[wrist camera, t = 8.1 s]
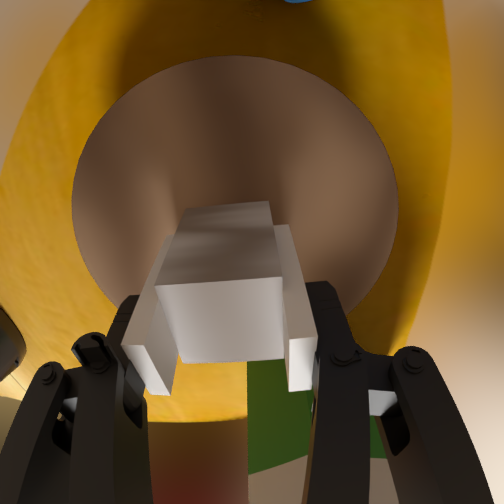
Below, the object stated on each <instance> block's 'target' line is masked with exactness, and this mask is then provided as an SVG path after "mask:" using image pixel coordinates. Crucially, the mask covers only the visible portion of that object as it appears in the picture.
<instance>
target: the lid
mask: <svg viewBox="0 0 504 504" xmlns="http://www.w3.org/2000/svg"><path fill="white" fill-rule="evenodd" d="M398 210H399V207H398V191H397V184H396V180H395V175H394V171H393V167H392V164H391V161H390V159H389V156H388V154H387V151H386V148H385V146H384V144H383V143H382V141H381V139H380V137H379V136H378V134H377V132H376V130H375V129H374V127H373V126H372V124H371V123H370V122H369V121H368V119H367V118H366V117H365V116H364V114H363V113H362V112H361V111H360V110H359V108H358V107H357V106H356V105H354V104H353V103H352V102H351V101H350V100H349V99H348V98H347V97H346V96H345V95H343V94H342V93H341V92H340V91H339V90H337V89H336V88H334V87H333V86H331V85H330V84H328V83H327V82H325V81H324V80H322V79H321V78H319V77H317V76H315V75H313V74H311V73H309V72H307V71H304V70H302V69H300V68H297V67H295V66H293V65H290V64H286V63H282V62H279V61H275V60H271V59H267V58H261V57H251V56H241V55H231V56H214V57H206V58H201V59H197V60H192V61H188V62H184V63H180V64H178V65H175V66H173V67H170V68H167V69H165V70H163V71H160V72H158V73H156V74H154V75H152V76H151V77H149V78H147V79H146V80H144V81H142V82H141V83H139V84H137V85H136V86H134V87H133V88H132V89H131V90H129V91H128V92H127V93H126V94H124V95H123V96H122V97H121V98H120V99H119V100H117V101H116V102H115V103H114V104H113V105H112V107H111V108H110V109H109V110H108V111H107V112H106V113H105V115H104V116H103V117H102V118H101V119H100V121H99V122H98V124H97V125H96V127H95V128H94V130H93V132H92V133H91V135H90V136H89V138H88V140H87V142H86V144H85V147H84V149H83V151H82V154H81V156H80V158H79V162H78V165H77V169H76V173H75V177H74V182H73V191H72V220H73V226H74V231H75V237H76V240H77V243H78V247H79V250H80V253H81V255H82V258H83V260H84V262H85V264H86V266H87V268H88V270H89V272H90V274H91V275H92V277H93V279H94V280H95V282H96V283H97V285H98V286H99V288H100V289H101V290H102V291H103V293H104V294H105V295H106V296H107V298H108V299H109V300H110V301H111V302H112V303H113V304H114V305H115V306H116V307H117V308H118V309H119V307H120V304H121V303H122V302H123V301H124V300H125V299H126V298H127V297H128V296H129V295H140V294H141V292H142V289H143V287H144V285H145V282H146V280H147V278H148V275H149V273H150V271H151V268H152V266H153V264H154V262H155V259H156V257H157V255H158V253H159V251H160V248H161V246H162V244H163V242H164V240H165V237H166V235H172V234H174V237H173V239H172V242H171V244H170V246H169V249H168V251H167V254H166V256H165V259H164V261H163V264H162V266H161V269H160V271H159V274H158V276H157V279H156V282H155V284H154V287H155V290H156V293H157V296H158V299H159V301H160V304H161V307H162V310H163V312H164V315H165V318H166V320H167V323H168V326H169V328H170V331H171V334H172V336H173V339H174V341H175V344H176V346H177V349H178V351H179V354H180V357H181V359H182V362H183V363H223V362H244V361H259V360H272V359H284V348H283V305H282V291H283V280H282V271H281V266H280V260H279V255H278V249H277V243H276V238H275V232H274V227H273V225H286V224H289V228H290V231H291V235H292V238H293V242H294V246H295V249H296V253H297V257H298V260H299V264H300V268H301V271H302V275H303V279H304V283H306V282H317V281H328V282H329V283H330V284H331V285H332V286H333V287H334V288H335V289H336V292H337V294H338V297H339V301H340V302H341V305H342V309H343V311H344V313H345V316H346V315H347V314H348V313H350V312H351V311H352V310H353V309H354V308H355V307H356V306H357V305H358V304H359V303H360V302H361V301H362V300H363V299H364V297H365V296H366V295H367V294H368V293H369V291H370V290H371V288H372V287H373V286H374V284H375V283H376V281H377V280H378V278H379V276H380V275H381V273H382V271H383V269H384V267H385V265H386V263H387V260H388V258H389V255H390V253H391V250H392V247H393V243H394V239H395V235H396V230H397V222H398Z"/></svg>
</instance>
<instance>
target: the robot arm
mask: <svg viewBox="0 0 504 504" xmlns="http://www.w3.org/2000/svg"><path fill="white" fill-rule="evenodd" d="M273 227H274V232H275V238H276V243H277V249H278V255H279V260H280V266H281V271H282V280H283V291H282V305H283V348H284V356H285V364H286V373H287V381H288V390H289V392H294V391H303V390H311V389H312V384H313V390H314V398H313V404H312V410H311V412H312V419H311V430H310V440H309V449H308V458H307V466H306V474H305V481H304V488H303V495H302V502H301V504H369V491H370V415H374V418H375V421H376V424H377V428H378V431H379V434H380V437H381V441H382V444H383V447H384V450H385V454H386V457H387V461H388V464H389V468H390V471H391V475H392V478H393V482H394V486H395V489H396V493H397V497H398V501H399V504H494V502H493V498H492V495H491V492H490V489H489V486H488V483H487V480H486V477H485V474H484V471H483V468H482V466H481V463H480V460H479V458H478V455H477V453H476V450H475V448H474V445H473V443H472V440H471V438H470V435H469V433H468V431H467V428H466V426H465V424H464V422H463V419H462V417H461V415H460V413H459V411H458V408H457V406H456V404H455V402H454V400H453V398H452V396H451V394H450V392H449V390H448V388H447V386H446V384H445V382H444V380H443V378H442V376H441V374H440V372H439V370H438V368H437V366H436V364H435V362H434V360H433V359H432V357H431V356H430V355H429V354H428V352H426V351H425V350H423V349H422V348H419V347H415V346H407V347H403V348H401V349H399V350H398V351H397V352H396V353H395V354H394V356H386V355H376V354H372V353H369V352H366V351H364V350H363V349H362V348H361V347H360V346H359V345H358V344H357V343H355V341H354V339H353V336H352V333H351V330H350V327H349V325H348V322H347V319H346V316H345V313H344V311H343V309H342V305H341V302H340V301H339V297H338V294H337V292H336V289H335V288H334V287H333V286H332V285H331V284H330V283H329V282H328V281H317V282H306V283H304V279H303V275H302V271H301V268H300V264H299V260H298V257H297V253H296V249H295V246H294V242H293V238H292V235H291V231H290V228H289V224H286V225H273ZM173 237H174V234H172V235H166V237H165V240H164V242H163V244H162V246H161V248H160V251H159V253H158V255H157V257H156V259H155V262H154V264H153V266H152V268H151V271H150V273H149V275H148V278H147V280H146V282H145V285H144V287H143V289H142V292H141V294H140V295H129V296H128V297H127V298H126V299H125V300H124V301H123V302H122V303H121V304H120V307H119V309H118V311H117V313H116V314H117V315H115V318H114V320H113V323H112V325H111V327H110V329H109V332H108V334H107V336H106V337H105V335H104V334H101V333H99V332H91V333H88V334H85V335H83V336H82V337H80V338H79V339H78V340H77V341H76V342H75V343H74V344H73V346H72V349H71V350H72V352H73V353H74V355H75V356H76V358H77V359H78V360H79V362H80V363H81V365H82V366H81V367H77V368H72V369H67V370H64V368H63V367H62V366H61V364H60V363H58V362H48V363H45V364H44V365H42V366H41V367H40V368H39V369H38V370H37V372H36V373H35V375H34V377H33V379H32V381H31V383H30V385H29V387H28V389H27V392H26V394H25V396H24V398H23V400H22V402H21V404H20V407H19V409H18V411H17V413H16V416H15V418H14V420H13V423H12V425H11V427H10V430H9V433H8V435H7V437H6V440H5V443H4V446H3V448H2V451H1V454H0V504H153V495H152V486H151V476H150V462H149V447H148V425H147V424H148V422H147V403H146V400H145V398H144V397H143V393H144V389H145V387H146V388H147V390H148V391H149V393H150V394H151V395H170V396H171V390H172V385H173V379H174V374H175V368H176V363H177V358H178V353H179V351H178V349H177V346H176V344H175V341H174V339H173V336H172V334H171V331H170V328H169V326H168V323H167V320H166V318H165V315H164V312H163V310H162V307H161V304H160V301H159V299H158V296H157V293H156V290H155V287H154V284H155V282H156V279H157V276H158V274H159V271H160V269H161V266H162V264H163V261H164V259H165V256H166V254H167V251H168V249H169V246H170V244H171V242H172V239H173ZM25 355H26V346H25V343H24V340H23V338H22V336H21V334H20V333H19V331H18V330H17V328H16V327H15V325H14V324H13V323H12V321H11V320H10V319H9V318H8V316H7V315H6V314H5V313H4V312H3V311H2V310H1V309H0V382H1V381H2V380H3V379H4V378H6V377H7V376H8V375H9V374H10V373H11V372H12V371H14V370H15V369H16V368H17V367H18V366H19V365H20V364H21V362H22V360H23V359H24V357H25ZM59 412H60V413H61V414H62V417H61V418H60V419H57V417H58V414H59Z"/></svg>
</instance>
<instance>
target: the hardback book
mask: <svg viewBox="0 0 504 504" xmlns="http://www.w3.org/2000/svg"><path fill="white" fill-rule="evenodd" d="M313 398H314V390H313V384H312V389H311V390H303V391H294V392H289V390H288V381H287V373H286V364H285V356H284V359H272V360H259V361H247V410H248V482H249V483H248V484H249V504H301V502H302V495H303V488H304V481H305V474H306V466H307V458H308V449H309V440H310V430H311V419H312V412H311V410H312V404H313ZM369 504H399V501H398V497H397V493H396V489H395V486H394V482H393V478H392V475H391V471H390V468H389V464H388V461H387V457H386V454H385V450H384V447H383V444H382V441H381V437H380V434H379V431H378V428H377V424H376V421H375V418H374V415H370V491H369Z"/></svg>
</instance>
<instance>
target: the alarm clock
mask: <svg viewBox="0 0 504 504" xmlns="http://www.w3.org/2000/svg"><path fill="white" fill-rule="evenodd" d="M284 1H286V2H289V3H302V2H307V1H311V0H284Z"/></svg>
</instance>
